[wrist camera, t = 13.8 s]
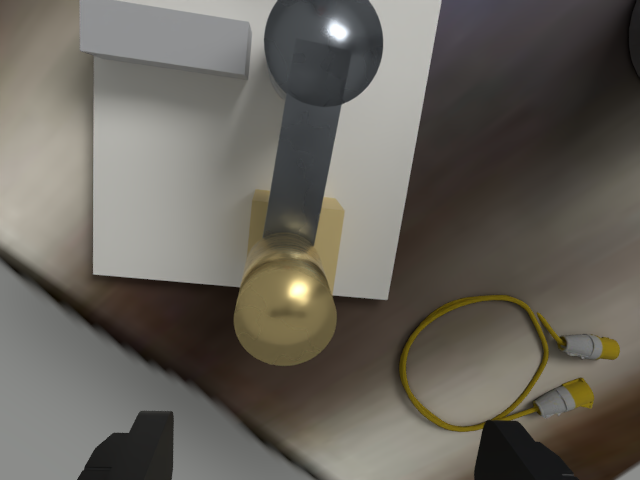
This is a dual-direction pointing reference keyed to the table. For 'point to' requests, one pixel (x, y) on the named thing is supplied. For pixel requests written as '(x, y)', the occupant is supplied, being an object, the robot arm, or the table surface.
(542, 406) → the extension cord
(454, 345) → the table surface
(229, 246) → the base
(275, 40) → the bar
